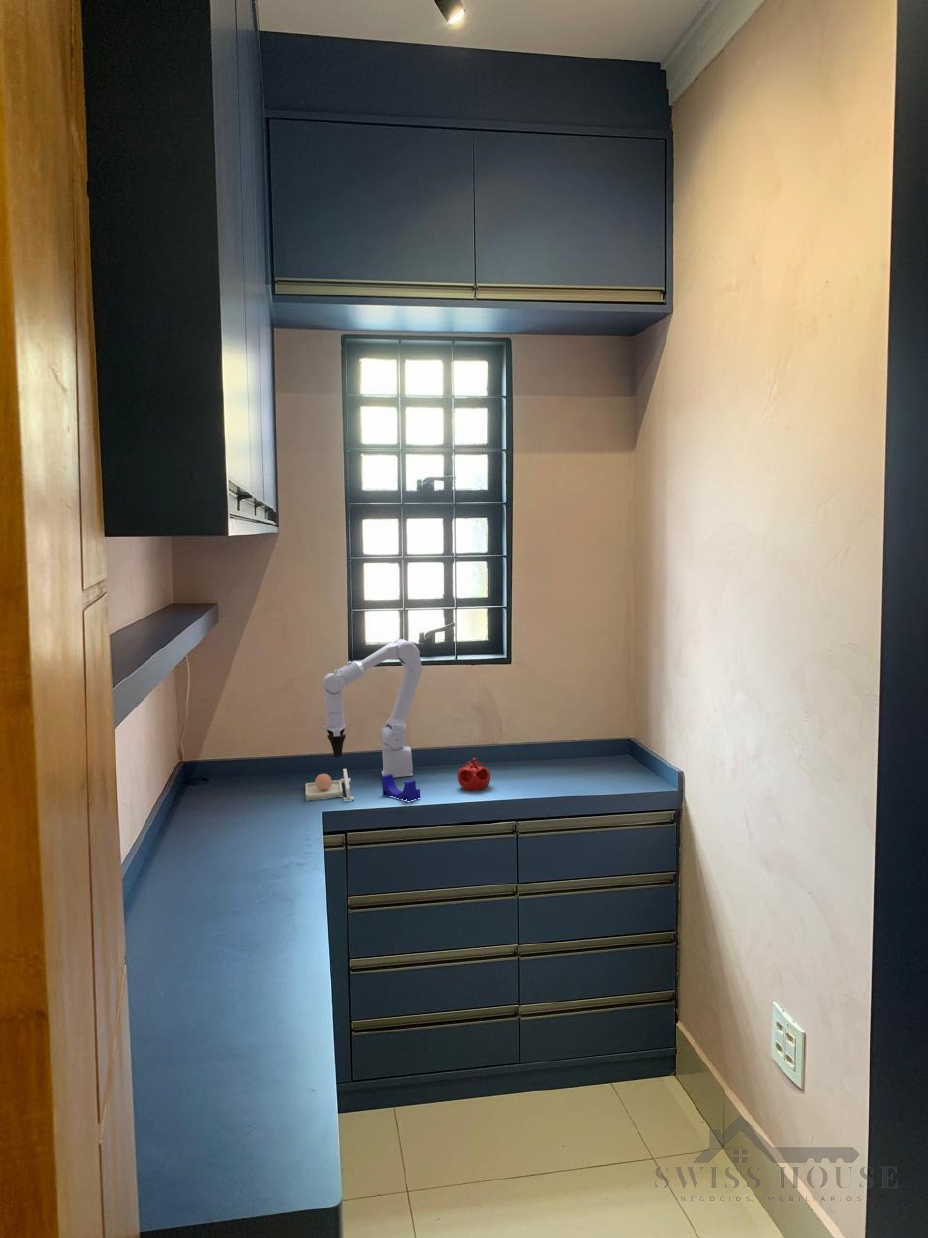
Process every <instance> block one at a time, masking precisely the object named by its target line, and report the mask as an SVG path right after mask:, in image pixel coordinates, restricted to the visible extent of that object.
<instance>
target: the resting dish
mask: <svg viewBox="0 0 928 1238" xmlns="http://www.w3.org/2000/svg"><path fill="white" fill-rule="evenodd" d="M340 796H343V797H344V792H343V783H341V779H338V780H336V779H335V780H332V783H331V786H330V787H329V788H328V789H327V790H320V789H318V788H317V787H316V785H315V781H314V782H306V783H305V802H309V801H308V800H314V799H321V798H328V797H340ZM314 801H315V800H314Z"/></svg>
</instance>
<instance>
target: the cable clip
mask: <svg viewBox="0 0 928 1238" xmlns="http://www.w3.org/2000/svg"><path fill="white" fill-rule="evenodd" d="M403 783H404V785H403V790H402V791H401V790H400V789H399V787H398V786H397V785H396V782H395V780H394V778H393V775H392V774H388V775H384V776H383V775H382V776H381V784H382V785H381V788H382V795H383V796H384V795H387V796H386V797H388V796H393V797H396V798H399V799H403V800H406V799H407V801H411V800H414V799H418V798H421V789H420V788H417V782H416V780H414V779H411V780H407V781H404V782H403Z"/></svg>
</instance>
